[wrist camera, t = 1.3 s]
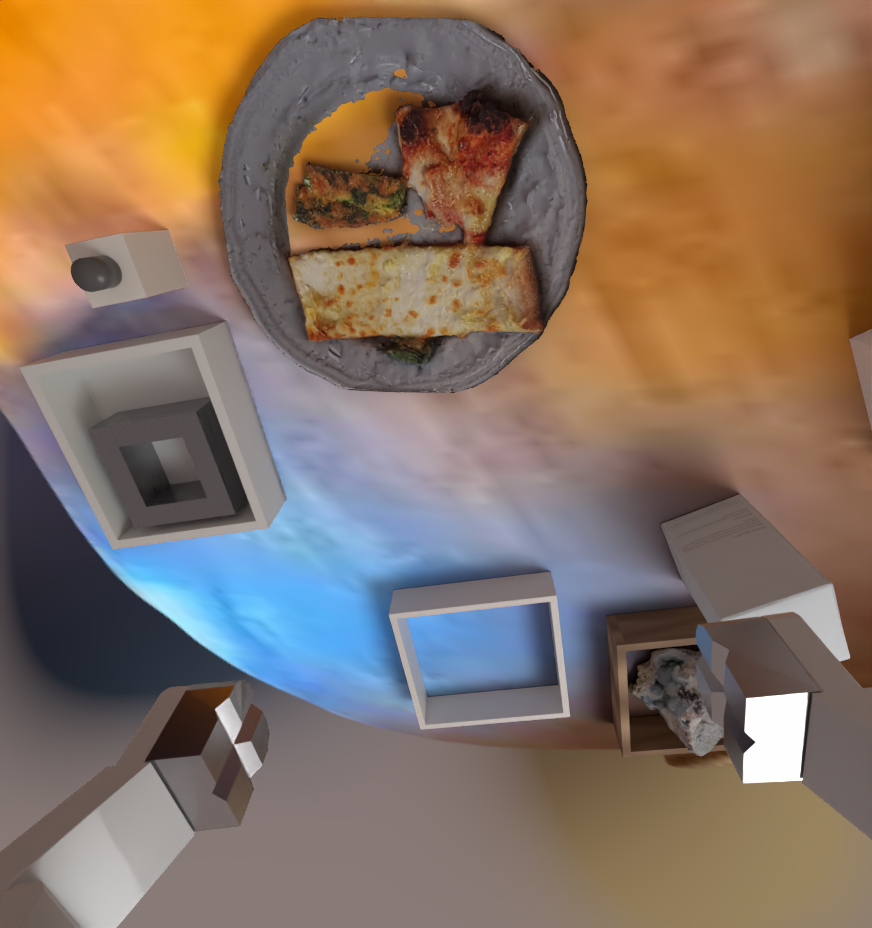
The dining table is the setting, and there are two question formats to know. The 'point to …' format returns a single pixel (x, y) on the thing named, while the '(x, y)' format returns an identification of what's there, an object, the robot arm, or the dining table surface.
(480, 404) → the dining table surface
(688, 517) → the supplement box
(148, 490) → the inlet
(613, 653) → the stand rim
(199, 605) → the dining table surface
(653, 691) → the mineral specimen
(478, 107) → the food plate
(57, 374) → the walled box
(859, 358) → the milk
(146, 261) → the connector
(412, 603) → the open square frame
